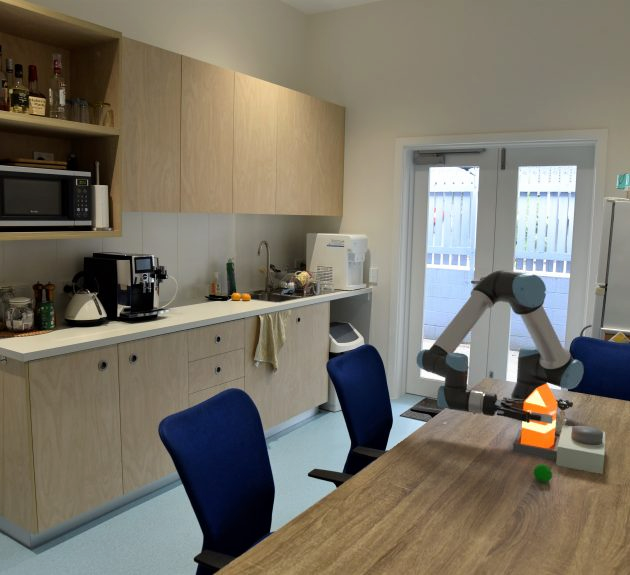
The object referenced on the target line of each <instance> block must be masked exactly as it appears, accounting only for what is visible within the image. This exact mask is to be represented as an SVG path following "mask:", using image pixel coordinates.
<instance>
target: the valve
mask: <svg viewBox="0 0 630 575" xmlns="http://www.w3.org/2000/svg"><path fill="white" fill-rule="evenodd" d="M556 401H557V409H559V410H560V411H559V412H558V413H559V414H558V415H559V416H558V417H556V426H555V434H557V435H558V436H560V434H561V430H562V425H566V423H567V419H566V418H565V417H566V412H565V411H566V410H569V409H570V408H573V406H574V402H572V401H570V400H567V399H566V400H564V399H561V398H560V399H556Z"/></svg>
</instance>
